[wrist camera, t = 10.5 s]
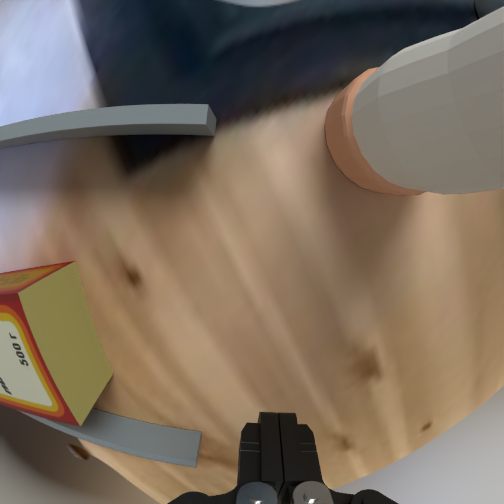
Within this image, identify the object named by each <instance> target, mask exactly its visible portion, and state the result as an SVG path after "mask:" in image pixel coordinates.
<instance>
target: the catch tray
mask: <svg viewBox="0 0 504 504" xmlns="http://www.w3.org/2000/svg"><path fill="white" fill-rule="evenodd" d="M215 128H216V118H215V116H214V114H213V112H212V111H211V109H210V107H209V105H206V104H153V105H132V106H118V107H107V108H97V109H89V110H81V111H74V112H67V113H61V114H55V115H50V116H44V117H39V118H34V119H30V120H25V121H21V122H17V123H13V124H9V125H5V126H1V127H0V149H1V148H6V147H12V146H18V145H24V144H30V143H37V142H44V141H52V140H60V139H70V138H81V137H94V136H110V135H137V134H179V135H207V136H215ZM18 411H19V410H18ZM20 412H22V411H20ZM22 413H24V414H26V415H28V416H30V417H32V418H34V419H36V420H38V421H40V422H42V423H44V424H46V425H49V426H51V427H53V428H55V429H58V430H60V431H63V432H65V433H67V434H70V435H72V436H75V437H78V438H80V439H83V440H86V441H89V442H91V443H94V444H97V445H100V446H103V447H107V448H110V449H113V450H116V451H120V452H123V453H127V454H131V455H135V456H139V457H143V458H147V459H152V460H156V461H161V462H166V463H171V464H177V465H183V466H189V467H197V461H198V455H199V449H200V443H201V432H199V431H192V430H185V429H179V428H173V427H167V426H162V425H157V424H152V423H147V422H143V421H138V420H134V419H130V418H126V417H122V416H118V415H114V414H111V413H107V412H104V411H100V410H97V409H94V408H92V409H91V410H90V412H89V414H88V415H87V417H86V419H85V420H84V422H83V424H82V425H81V427H80V426H75V425H70V424H66V423H61V422H57V421H53V420H49V419H46V418H42V417H38V416H35V415H32V414H28V413H25V412H22Z"/></svg>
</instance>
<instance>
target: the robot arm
mask: <svg viewBox="0 0 504 504" xmlns="http://www.w3.org/2000/svg"><path fill="white" fill-rule="evenodd" d="M475 7H476V11H477V14H478V16H479V18H482V17H484V16H486V15H488V14H490V13H492V12H494V11H496V10H498V9H500V8H502V7H504V0H475ZM316 451H317V449H316V444H315V439H314V434H313V432H312V431H311V429H310V428H309V427H308V425H307V424H297V417H296V414H295V413H278V414H277V413H274V412H260V413H259V418H258V423H246V425H245V427H244V428H243V430H242V431H241V439H240V446H239V459H238V478H237V486H236V487H235V488H234V489H233V490H232V491H230V492H228V493H226V494H222V495H216V496H208V495H206V494H204V493H201V492H187V493H184V494H182V495H180V496H179V497H177V498H176V499H174V500H172V501H171V502H169V503H168V504H398V503H396V502H395V501H393V500H391V499H389V498H388V497H386V496H384V495H383V494H381V493H380V492H378V491H375V490H370V489H367V490H362V491H360V492H358V493H357V494H355V495H353V494H346V493H339V492H335V491H333V490H331V489H329V488H328V487H327V486H326V485H325V484H324V482H323V480H322V475H321V470H320V465H319V460H318V454H317V452H316Z"/></svg>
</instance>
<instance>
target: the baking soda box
mask: <svg viewBox="0 0 504 504" xmlns="http://www.w3.org/2000/svg"><path fill="white" fill-rule="evenodd" d="M112 375H113V372H112V369H111V367H110V364H109V362H108V360H107V357H106V355H105V352H104V350H103V347H102V344H101V342H100V339H99V336H98V334H97V331H96V328H95V325H94V322H93V319H92V316H91V313H90V310H89V307H88V304H87V301H86V297H85V294H84V290H83V287H82V283H81V280H80V276H79V272H78V268H77V264H76V261H72V262H66V263H59V264H53V265H47V266H41V267H35V268H29V269H23V270H17V271H11V272H5V273H0V404H2V405H4V406H8V407H10V408H13V409H16V410H19V411H22V412H25V413H28V414H32V415H35V416H38V417H42V418H46V419H49V420H53V421H57V422H61V423H66V424H70V425H75V426H80V427H81V425H82V424H83V422H84V420H85V419H86V417H87V415H88V414H89V412H90V410H91V409H92V407H93V405H94V404H95V402H96V400H97V399H98V397H99V396H100V394H101V392H102V391H103V389H104V388H105V386H106V384H107V383H108V381H109V380H110V378H111V377H112Z"/></svg>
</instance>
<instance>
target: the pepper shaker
mask: <svg viewBox="0 0 504 504" xmlns="http://www.w3.org/2000/svg"><path fill="white" fill-rule="evenodd" d="M325 132H326V140H327V146H328V148H329V151H330V153H331V155H332V158H333V160H334V162H335V164H336V165H337V166H338V167H339V169H340V170H341V171H342V172H343V174H344V175H345V176H346V177H347V178H348V179H350V180H351V181H353V182H354V183H355V184H357V185H358V186H360V187H361V188H364V189H368V190H371V191H374V192H378V193H386V194H394V195H401V196H404V195H420V194H422V193H424V192H426V191H427V192H433V193H439V194H465V193H472V192H481V191H489V190H497V189H504V7H502V8H500V9H498V10H496V11H494V12H492V13H490V14H488V15H486V16H484V17H482V18H480V19H479V20H477V21H475V22H473V23H471V24H469V25H468V26H466V27H464V28H461V29H458V30H455V31H452V32H449V33H446V34H443V35H440V36H437V37H434V38H431V39H428V40H426V41H423V42H420V43H418V44H415V45H412V46H410V47H407V48H405V49H403V50H401V51H400V52H398V53H397V54H395V55H394V56H392V57H391V58H389V59H388V60H387V61H386V62H385V63H384V64H383V65H382V66H381V67H377V68H373V69H368V70H367V71H365V72H364V73H362V74H361V75H360V76H358V77H357V78H356V79H354V80H353V81H352V82H351V83H350V84H349V85H348V86H347V87H345V88H344V89H343V90H342V91H341V92H340V93H339V94H338V95H337V96H336V97H335V99H334V101H333V102H332V104H331V106H330V107H329V109H328V113H327V118H326V123H325Z"/></svg>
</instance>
